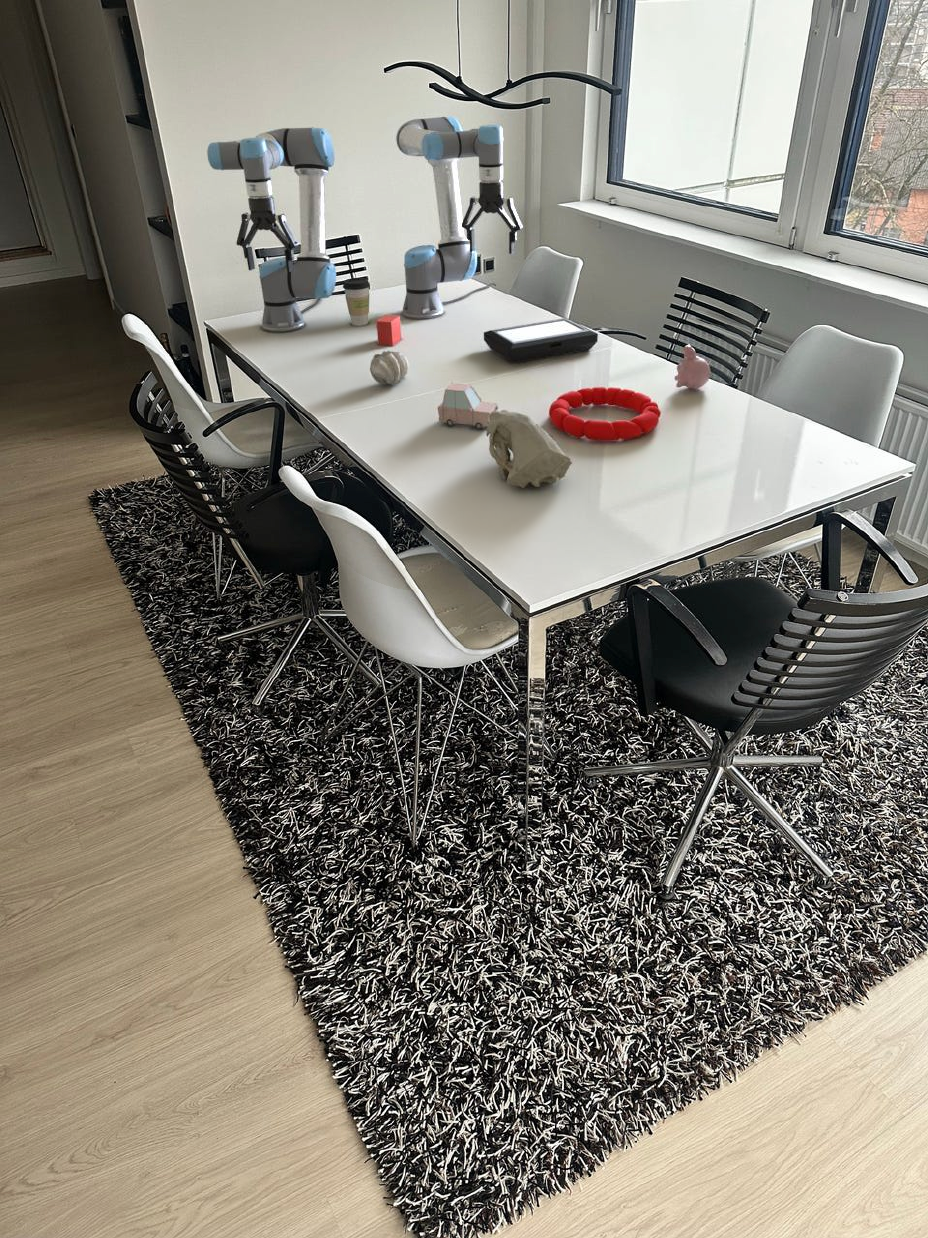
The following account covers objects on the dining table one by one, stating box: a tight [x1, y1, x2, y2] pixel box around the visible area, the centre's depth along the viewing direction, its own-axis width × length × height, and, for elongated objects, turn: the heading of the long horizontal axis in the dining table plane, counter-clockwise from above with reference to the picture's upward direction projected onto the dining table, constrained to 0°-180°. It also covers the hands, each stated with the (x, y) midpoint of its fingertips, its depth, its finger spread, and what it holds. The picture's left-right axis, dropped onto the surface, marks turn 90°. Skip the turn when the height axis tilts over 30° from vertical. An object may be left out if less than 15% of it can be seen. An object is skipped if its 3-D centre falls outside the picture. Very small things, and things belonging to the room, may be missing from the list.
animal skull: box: [485, 409, 573, 489], centre depth 216 cm, size 17×25×20 cm
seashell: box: [369, 350, 409, 385], centre depth 270 cm, size 10×15×10 cm
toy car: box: [437, 382, 499, 431], centre depth 243 cm, size 9×15×10 cm, turn 70°
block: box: [376, 314, 402, 347], centre depth 306 cm, size 6×8×8 cm
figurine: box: [674, 344, 711, 390], centre depth 259 cm, size 9×11×12 cm
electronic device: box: [483, 317, 599, 364], centre depth 294 cm, size 32×6×20 cm
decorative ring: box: [548, 386, 661, 442], centre depth 242 cm, size 7×30×30 cm
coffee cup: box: [342, 277, 371, 327], centre depth 323 cm, size 10×10×15 cm
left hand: (271, 270), depth 279 cm, fingers open, 13 cm apart
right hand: (491, 251), depth 294 cm, fingers open, 13 cm apart
